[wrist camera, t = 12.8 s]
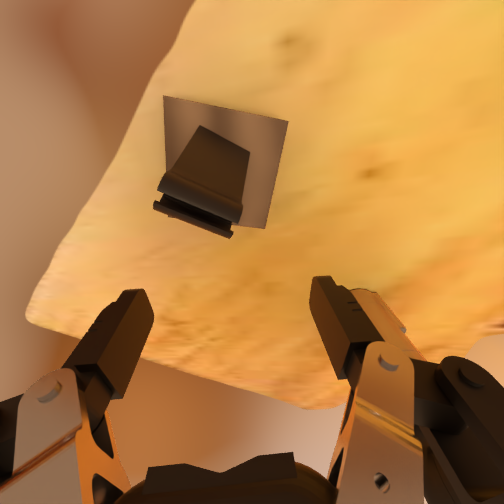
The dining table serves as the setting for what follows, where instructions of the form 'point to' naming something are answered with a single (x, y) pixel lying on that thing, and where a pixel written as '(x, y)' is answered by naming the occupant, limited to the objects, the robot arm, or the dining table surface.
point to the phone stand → (206, 183)
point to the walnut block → (240, 133)
